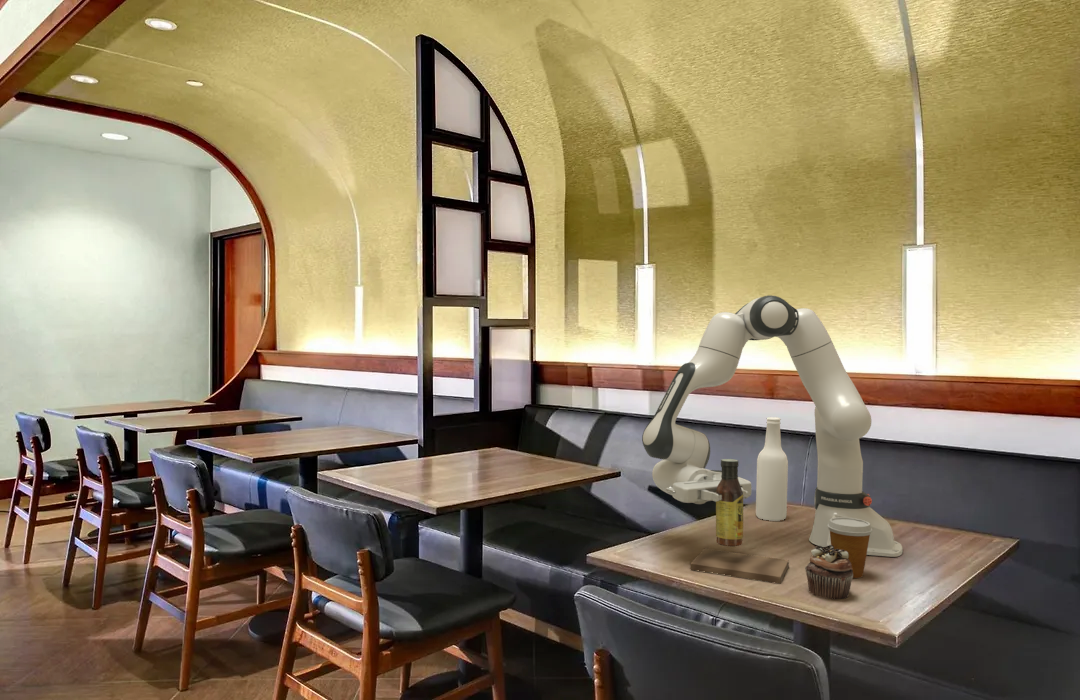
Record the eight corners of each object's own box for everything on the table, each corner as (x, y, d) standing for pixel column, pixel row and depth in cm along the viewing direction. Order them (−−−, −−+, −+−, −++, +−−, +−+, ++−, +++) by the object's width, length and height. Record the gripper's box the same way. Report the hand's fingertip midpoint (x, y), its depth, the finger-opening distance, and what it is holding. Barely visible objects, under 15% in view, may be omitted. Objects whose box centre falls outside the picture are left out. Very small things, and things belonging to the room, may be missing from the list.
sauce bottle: (743, 548, 176) (744, 462, 175) (716, 547, 177) (716, 461, 176) (742, 541, 182) (742, 458, 182) (715, 539, 183) (716, 457, 183)
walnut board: (788, 566, 180) (788, 560, 180) (780, 583, 167) (780, 577, 167) (704, 554, 188) (704, 548, 188) (690, 570, 175) (690, 563, 175)
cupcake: (862, 595, 161) (863, 548, 160) (835, 604, 155) (836, 555, 155) (822, 582, 168) (823, 537, 168) (795, 590, 163) (796, 544, 163)
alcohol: (773, 513, 232) (776, 415, 232) (792, 520, 224) (795, 419, 223) (749, 515, 229) (752, 416, 228) (768, 522, 221) (771, 419, 220)
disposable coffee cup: (879, 579, 171) (881, 526, 171) (840, 581, 169) (842, 527, 169) (855, 566, 180) (856, 516, 180) (818, 568, 179) (819, 517, 179)
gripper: (662, 476, 187) (696, 486, 174) (729, 470, 195) (766, 480, 182) (662, 501, 187) (695, 514, 174) (729, 494, 195) (766, 506, 183)
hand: (732, 496), depth 178 cm, fingers closed on sauce bottle, 6 cm apart
